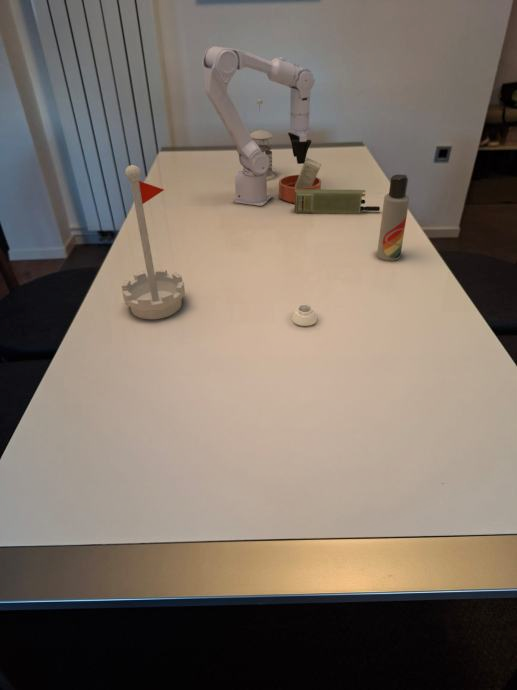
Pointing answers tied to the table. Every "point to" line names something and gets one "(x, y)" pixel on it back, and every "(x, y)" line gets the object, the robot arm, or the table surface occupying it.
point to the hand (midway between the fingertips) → (298, 159)
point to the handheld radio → (330, 201)
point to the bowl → (288, 187)
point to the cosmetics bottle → (307, 174)
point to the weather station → (263, 136)
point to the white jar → (304, 315)
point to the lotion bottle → (393, 219)
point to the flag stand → (150, 265)
